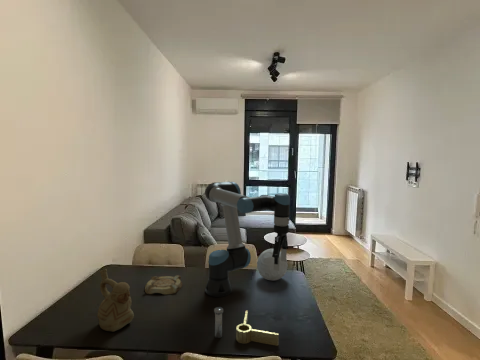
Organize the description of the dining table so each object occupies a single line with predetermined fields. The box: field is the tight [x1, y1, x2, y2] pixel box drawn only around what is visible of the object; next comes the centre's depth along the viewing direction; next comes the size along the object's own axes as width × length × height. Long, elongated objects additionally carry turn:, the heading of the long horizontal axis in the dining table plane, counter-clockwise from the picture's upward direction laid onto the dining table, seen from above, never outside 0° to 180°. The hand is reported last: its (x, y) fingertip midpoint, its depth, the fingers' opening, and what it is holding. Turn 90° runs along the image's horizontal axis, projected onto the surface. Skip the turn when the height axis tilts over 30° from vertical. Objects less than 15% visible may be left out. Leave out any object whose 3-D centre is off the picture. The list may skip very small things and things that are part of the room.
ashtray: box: [144, 274, 183, 296], centre depth 182 cm, size 24×24×5 cm
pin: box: [213, 306, 224, 339], centre depth 133 cm, size 4×4×12 cm
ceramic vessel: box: [96, 268, 135, 333], centre depth 141 cm, size 17×20×25 cm
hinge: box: [235, 310, 279, 347], centre depth 134 cm, size 21×18×5 cm
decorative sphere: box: [256, 248, 289, 282], centre depth 195 cm, size 20×20×20 cm
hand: (280, 265), depth 154 cm, fingers open, 13 cm apart
